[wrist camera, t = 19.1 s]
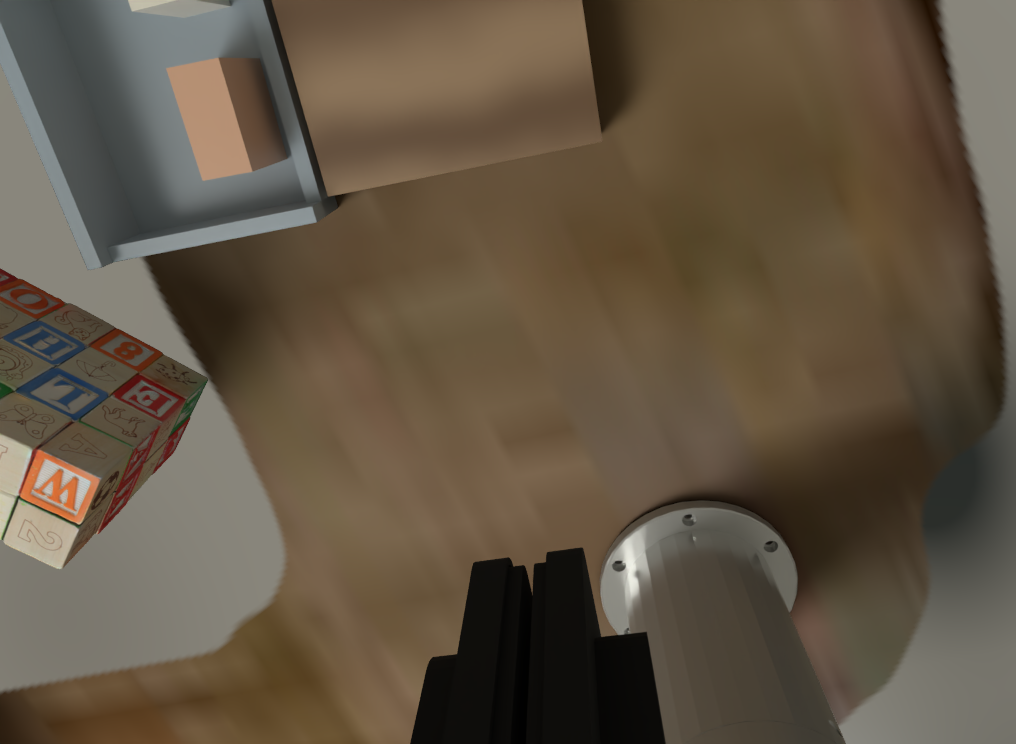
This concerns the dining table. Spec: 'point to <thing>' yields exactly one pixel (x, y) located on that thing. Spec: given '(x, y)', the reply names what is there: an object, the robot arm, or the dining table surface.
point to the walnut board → (437, 84)
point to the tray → (150, 124)
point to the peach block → (227, 115)
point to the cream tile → (177, 7)
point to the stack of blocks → (78, 420)
